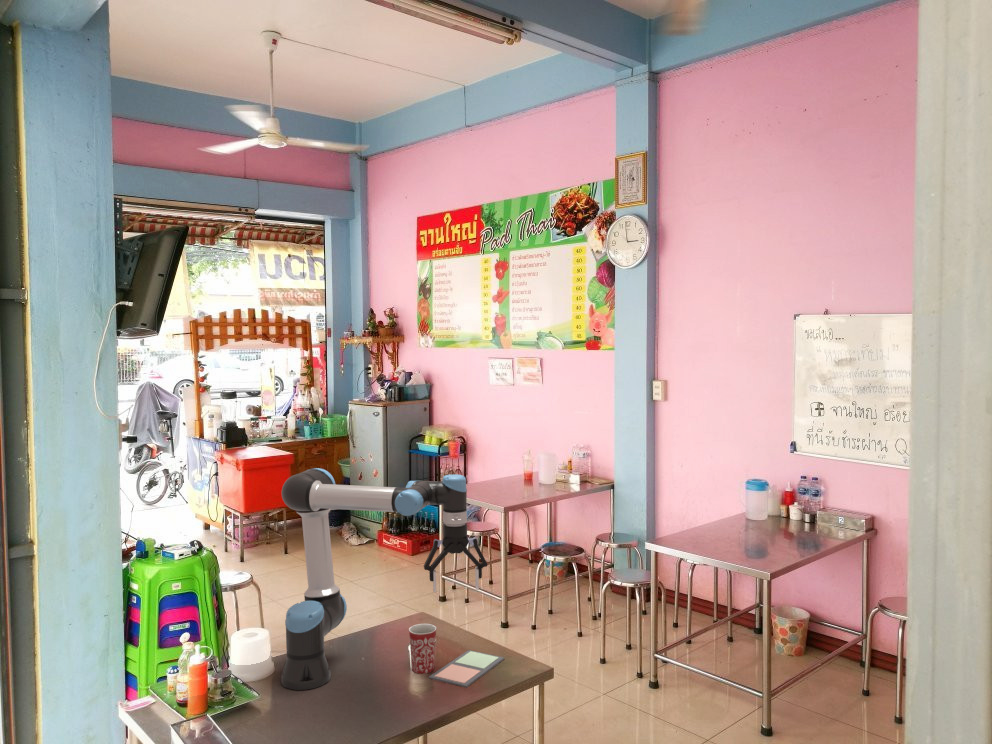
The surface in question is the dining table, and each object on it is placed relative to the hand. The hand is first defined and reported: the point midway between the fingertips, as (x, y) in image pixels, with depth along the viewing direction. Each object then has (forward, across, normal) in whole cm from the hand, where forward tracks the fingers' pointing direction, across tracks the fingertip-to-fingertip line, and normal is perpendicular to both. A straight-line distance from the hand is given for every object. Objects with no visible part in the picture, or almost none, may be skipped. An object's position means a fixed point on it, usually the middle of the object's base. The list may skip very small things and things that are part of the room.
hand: (455, 589), depth 246 cm
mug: (+28, -11, +7) cm, 30 cm away
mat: (+27, +4, +3) cm, 28 cm away
